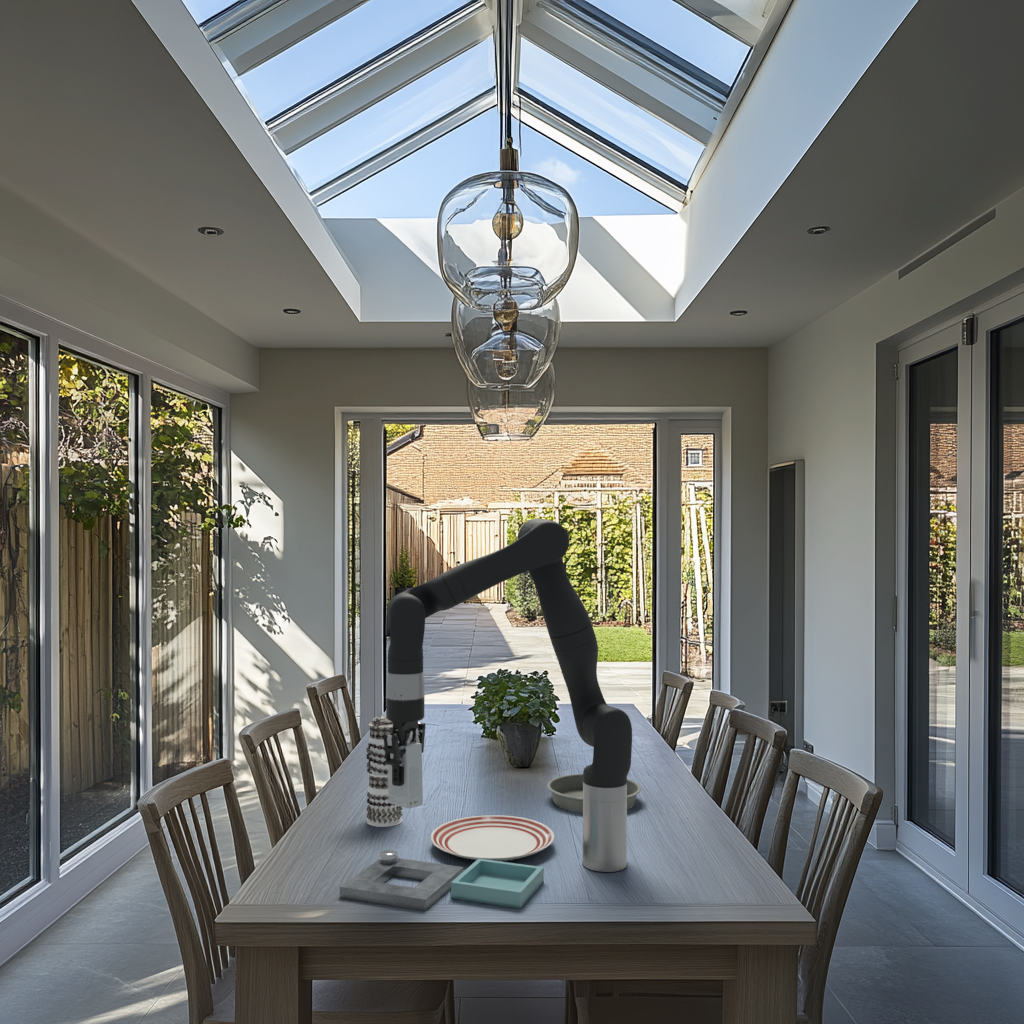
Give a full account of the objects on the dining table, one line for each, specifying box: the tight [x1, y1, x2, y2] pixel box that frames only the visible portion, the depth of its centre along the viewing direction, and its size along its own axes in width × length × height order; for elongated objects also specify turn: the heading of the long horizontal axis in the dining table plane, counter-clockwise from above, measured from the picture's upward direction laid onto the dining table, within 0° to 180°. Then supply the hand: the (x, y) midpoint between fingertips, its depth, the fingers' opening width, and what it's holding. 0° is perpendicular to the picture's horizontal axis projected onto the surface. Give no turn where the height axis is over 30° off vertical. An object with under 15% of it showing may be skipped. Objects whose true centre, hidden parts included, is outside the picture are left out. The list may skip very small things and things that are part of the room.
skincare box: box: [388, 742, 424, 809], centre depth 179 cm, size 6×4×12 cm
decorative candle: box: [366, 715, 403, 828], centre depth 221 cm, size 9×9×25 cm
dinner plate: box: [430, 814, 555, 862], centre depth 202 cm, size 28×27×3 cm
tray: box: [450, 859, 545, 910], centre depth 177 cm, size 14×14×3 cm
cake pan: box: [546, 773, 642, 813], centre depth 239 cm, size 25×25×4 cm
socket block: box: [339, 849, 465, 911], centre depth 179 cm, size 18×18×4 cm
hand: (405, 781), depth 179 cm, fingers closed on skincare box, 5 cm apart
